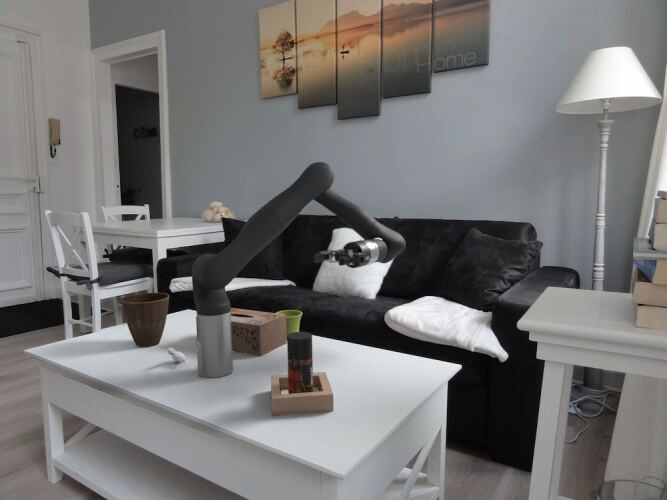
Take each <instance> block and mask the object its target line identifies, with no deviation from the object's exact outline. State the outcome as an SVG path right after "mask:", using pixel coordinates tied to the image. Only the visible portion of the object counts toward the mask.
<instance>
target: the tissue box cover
mask: <svg viewBox="0 0 667 500" xmlns="http://www.w3.org/2000/svg"><path fill="white" fill-rule="evenodd" d="M276 313H277V312H268V311H260V310H251V309H243V308H235V307H231V329H232V353H233V352H234V353H238V354H245V355H250V356H256V357H263V356H265V355H267V354H269V353H270V352H273V351H274V350H276V349H278V348H280V347H282V346H284V345H287V335H286V315H284V314H276ZM195 321H196V322H195V323H196V324H195V325H196V327H197V315H196V316H195ZM197 341H198V330H197V329H196V342H197Z"/></svg>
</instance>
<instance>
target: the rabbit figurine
mask: <svg viewBox="0 0 667 500" xmlns="http://www.w3.org/2000/svg"><path fill="white" fill-rule="evenodd" d="M167 353H168V354H169V356H171V357H172V360H173V361H174V362H177V363H174V366H181V363H183V362H186V358H185V355H184V354H183V352H181V351H177V350H175V349H174V348H172V347H169V348H168V349H167Z"/></svg>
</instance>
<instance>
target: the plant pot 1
mask: <svg viewBox="0 0 667 500" xmlns="http://www.w3.org/2000/svg"><path fill="white" fill-rule="evenodd" d="M169 301H170V295H169V293H164V292H145V293H136V294H130V295H126V296H124V297H122V298H121V299H120V302H121V307H122V310H123V315H124V319H125V322H126V325H127V328H128V330H129V333H130V335H131V337H132V340H133V341H134V344H135V346H136V347H139V348H150V347H156V346H157V345H159V344H160V343H161V340H162V337H163V333H164V331H165V326H166V322H167V317H168V312H169Z"/></svg>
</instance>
